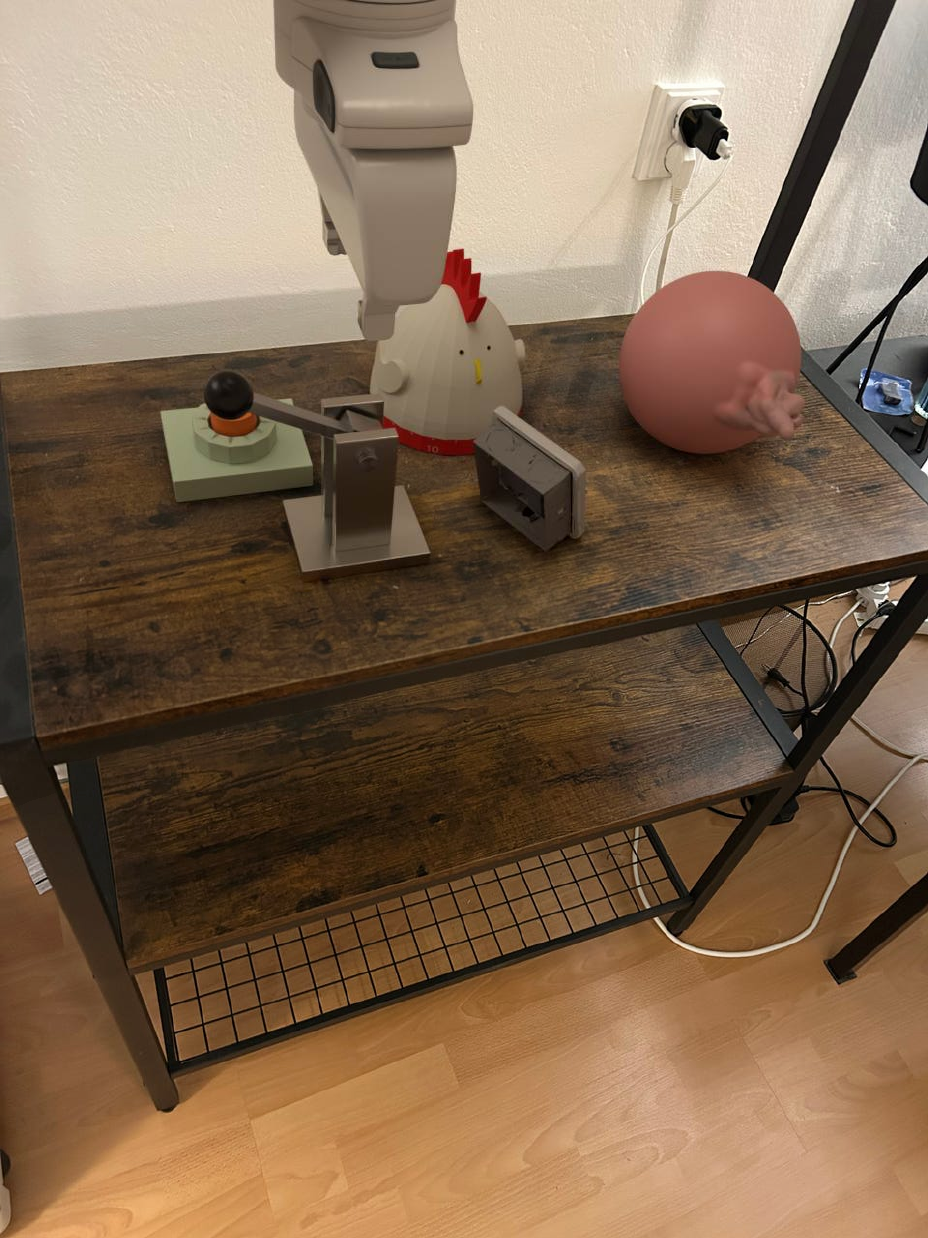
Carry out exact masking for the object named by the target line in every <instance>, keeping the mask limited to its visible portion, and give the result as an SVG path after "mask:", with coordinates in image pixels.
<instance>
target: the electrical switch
mask: <svg viewBox="0 0 928 1238" xmlns="http://www.w3.org/2000/svg"><path fill="white" fill-rule="evenodd" d="M491 418H492V423H493V424H492V425H491V426H489V427H488V428H487V429H486V431H485V432H484V433H483V434H482V435H481V436H479V437H478V438H477V439H476V440H474V441H473V448H474V453H473V454H474V462H475V469H476V476H477V483H478V491H479V497H480V500H481V502H482V503H483V504H484V505H486V506H487V507H488V508H490V509H491V510H492V511H493V512H495V513H496V514H497V515H498V516H500V517H501V518H502V519H503V520H505V521H506V522H507V523H509V524H510V525H511V526H512V527H514V528H515V529H516V530H517V531H518V532H520V533H521V534H522V535H524V536H525V538H528V539H529V540H530V541H531V542H532V543H534V544H535V545H536V546H538V547H539V548H540V549H542V550H543V551H544V552H548V551H549V550H550V549H552V547H554V546H555V544H557V543H558V542H560V541H562V540H564V538H565V537H567V536H569V537H570V538H571V539H573V540H576V539H579V538H580V536H582V535H583V534H584V533H585V532H586V531H585V529H586V527H585V526H586V525H585V524H586V474H587V473H586V471H587V470H586V468H585V466H584V465H583V463H582V462H581V461H580V460H579V459H578V458H576V457H574V456H573V455H572V454H570V452H567V451H566V450H565V449H563V448H562V447H561V446H559V444H557V443H555V442H553V441H552V440H551V439H550V438H548V437H547V436H545V435H544V434H542V433H541V432H540V431H539V430H537V429H536V428H534V427H533V426H532V425H530V424H529V423H527V421H525V420H523V419H522V418H521V417H518V416H516V415H515V414H514V413H512V412H511V411H509V410H508V409H507V408H505V407H504V406H499V407H498V408H496V409H495V410H494V411H493V412H492V416H491ZM527 507H528V508H529V509H530V510H531V511H532V513H533V514H531V515H530V516H524V515H523V512H524V511H525V510H526V508H527Z"/></svg>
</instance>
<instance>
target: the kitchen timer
mask: <svg viewBox="0 0 928 1238" xmlns="http://www.w3.org/2000/svg"><path fill="white" fill-rule="evenodd" d="M472 263H473V262H472V257H469V258H468V257H467V258H465V248H457V249H452V251H447V257H446V262H445V268H444V274H443V278H442V282H441V285H440V287H439V289H438V291H437V293H436V294H435V295H434V297H433V298H432V299H431V300H430V301H429V302H427V303H423V304H413V305H405V307H403V309H402V310H401V311H400V312H399V314H398V315H397V317H395V324H394V334H393V336H392V337H391V338H390V339H388V340H381V341H376V342H377V343H376V348H375V349H376V350H375V354H374V364H373V367H372V372H371V376H370V383H369V394H377V393H381V395H382V397H383V400H384V414H383V429H388V428H395V429H396V431H397V434H398V436H399V439H398V443H400V444H403V445H405V446H408V447H410V448H412V449H415V450H418V451H420V452H425V453H429V454H436V455H441V456H467V455H471V454H474V448H473V441H474V440H476V439H477V438H478V437H479V436H481V435H482V434H483V433H484V432H485V431H486V429H487V428H488V427H489V426H491V425H492V424H493V423H492V418H491V416H492V412H493V411H494V410H495V409H496V408H498V407H499V406H504V407H505V408H507V409H508V410H509V411H511V412H512V413H514V414H515V415H516V416H518V417H519V418H521V412H522V406H523V382H522V379H523V378H522V372H523V371H525V368H526V348H525V343H524V341H523V340H522V339H521V338H519V339H514V336H513V333H512V332H511V329H510V327H509V326H508V323H507V322H506V320H505V317H503V315H502V313H501V311H500V309H498V307H497V305H495V304H494V303H493V302H492V301H491V299H490V298H489V297H487V296H486V295H485V294H484V293H483V292H481V291H480V287H481V282H482V281H481V280H482V272H473V273H472V269H473V268H472Z"/></svg>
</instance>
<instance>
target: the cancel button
mask: <svg viewBox="0 0 928 1238" xmlns="http://www.w3.org/2000/svg"><path fill="white" fill-rule="evenodd" d="M210 415H211V424H212V428H213V429H214V430H215V432H217V433H218V434H220V435H223V436H227V437H240V436H246V435H248V434H250V433H252V432H253V431H254V430H255V428H256V426H257V415H254V414H251V413H247V414H246V415H245V416H243V417H241V418H239V419H236V420H224V419H221V418H218V417H217V416H215V415H214V414H213V413H212V412H211V411H210Z"/></svg>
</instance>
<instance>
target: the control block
mask: <svg viewBox="0 0 928 1238" xmlns="http://www.w3.org/2000/svg"><path fill="white" fill-rule="evenodd" d="M277 400H278V401H281V402H284V403H287V404H290V405H293V406H295V404H294V401H293V399H292V398H281V399H277ZM160 418H161V425H162V432H163V437H164V442H165V447H166V453H167V458H168V464H169V469H170V475H171V480H172V485H173V491H174V492H173V493H174V496H175V502H176V503H183V502H184V503H185V502H192V501H200V500H207V499H209V500H210V499H216V498H224V497H232V496H239V495H247V494H256V493H265V492H272V491H280V490H288V489H289V490H290V489H296V488H297V489H298V488H303V487H312V486H314V465H313V461H312V458H311V455H310V452H309V449H308V446H307V445H308V444H307V443H306V440H305V436H304V433H303V430H302V429H299V428H296V427H292V426H289V425H286V424H283V423H280V422H277V421H273V420H270V419H267V418H264V417H261V416H258V415H257V426H256V428H255V430H254V431H253V432H252V433H250V434H248V435H246V436H240V437H227V436H223V435H220V434H218V433H217V432H215V430H214V429H213V428H212V424H211V415H210V410H209V409H208V407H207V406H206V403H205V402H204V403H202V404H200V405H199V406H197V407H188V408H178V409H169V410H160Z"/></svg>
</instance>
